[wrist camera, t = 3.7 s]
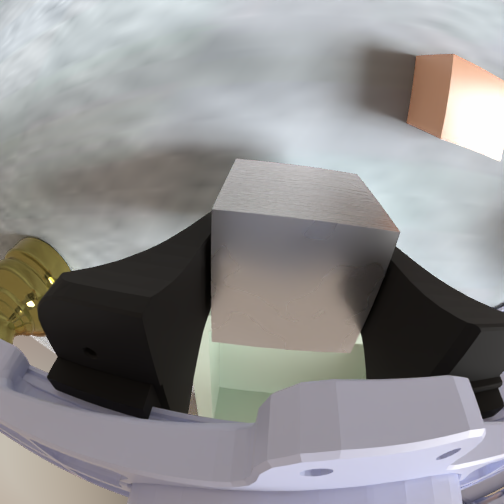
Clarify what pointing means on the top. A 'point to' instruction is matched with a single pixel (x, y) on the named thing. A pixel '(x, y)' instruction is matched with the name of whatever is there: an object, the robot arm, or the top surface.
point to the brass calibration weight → (26, 286)
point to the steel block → (296, 257)
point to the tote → (261, 374)
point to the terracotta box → (458, 103)
